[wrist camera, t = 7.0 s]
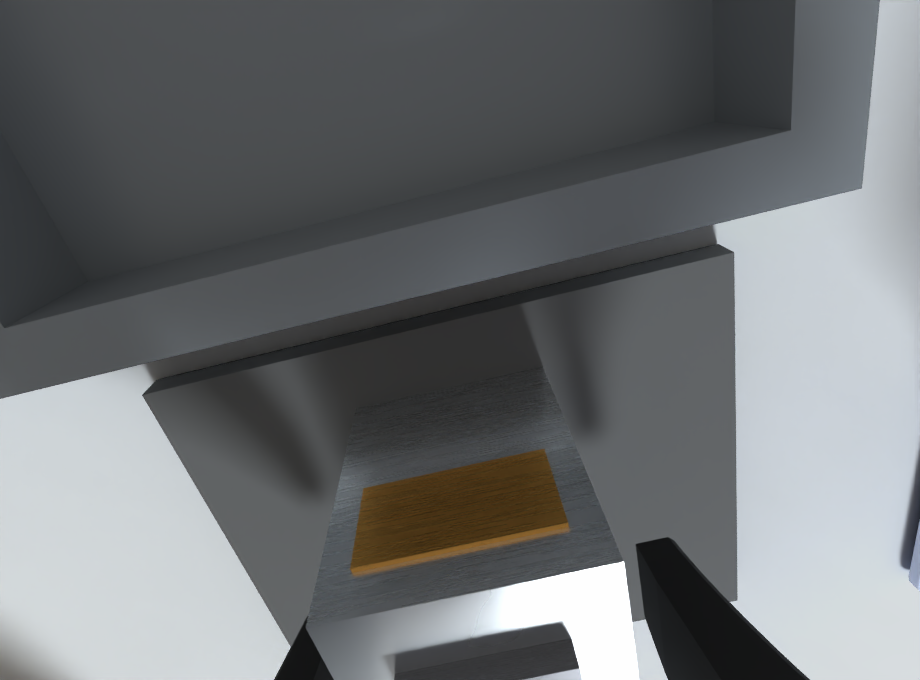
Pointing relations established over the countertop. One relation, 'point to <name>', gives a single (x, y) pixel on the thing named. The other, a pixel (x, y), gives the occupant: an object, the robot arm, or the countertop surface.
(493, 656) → the block
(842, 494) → the countertop surface
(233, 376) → the grey flat panel
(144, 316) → the case
